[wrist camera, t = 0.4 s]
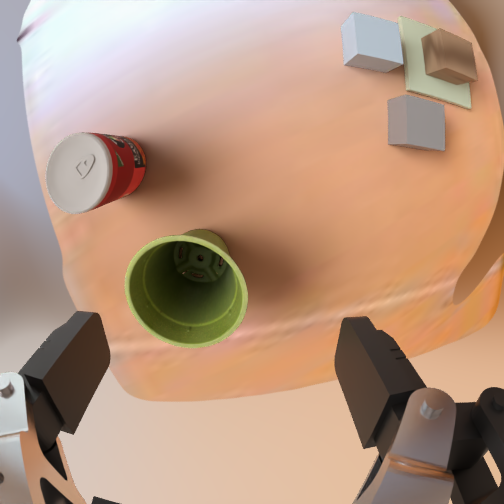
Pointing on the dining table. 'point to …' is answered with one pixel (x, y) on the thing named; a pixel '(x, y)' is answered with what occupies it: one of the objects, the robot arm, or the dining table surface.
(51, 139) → the dining table surface
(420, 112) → the grey block
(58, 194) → the canned food
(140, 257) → the plant pot
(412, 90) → the plate
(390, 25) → the blue block
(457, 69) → the walnut block
